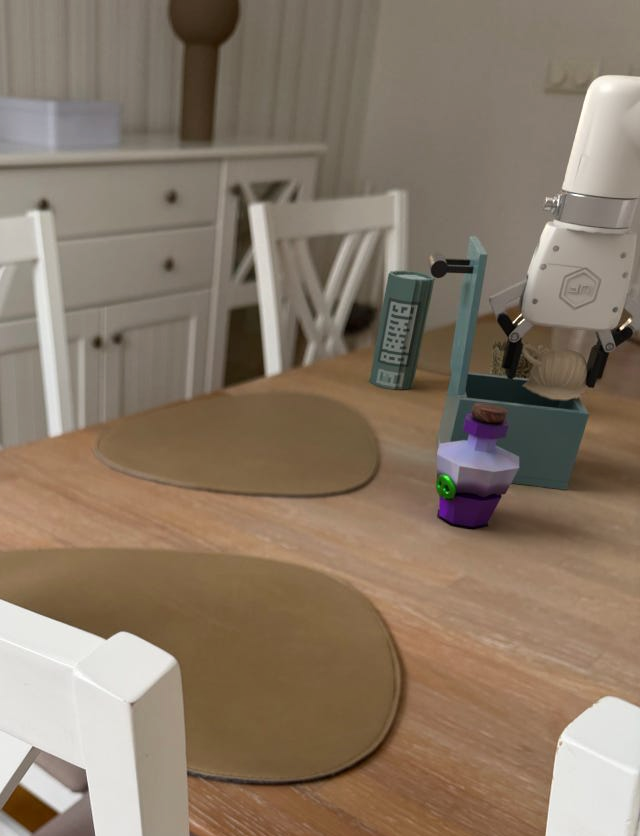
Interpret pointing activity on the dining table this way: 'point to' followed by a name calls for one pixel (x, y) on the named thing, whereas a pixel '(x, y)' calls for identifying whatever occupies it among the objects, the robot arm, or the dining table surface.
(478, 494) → the potion bottle
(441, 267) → the freezer lid
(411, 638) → the dining table surface
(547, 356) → the decorative ornament
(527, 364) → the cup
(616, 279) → the robot arm
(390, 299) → the can
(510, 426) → the box
